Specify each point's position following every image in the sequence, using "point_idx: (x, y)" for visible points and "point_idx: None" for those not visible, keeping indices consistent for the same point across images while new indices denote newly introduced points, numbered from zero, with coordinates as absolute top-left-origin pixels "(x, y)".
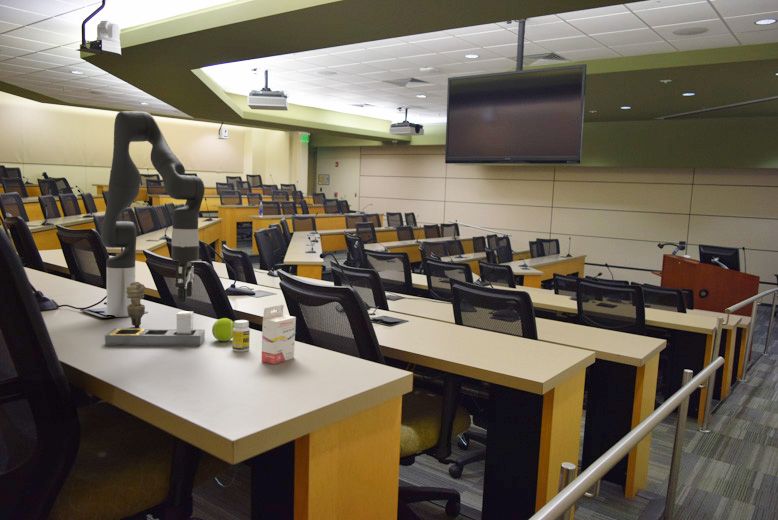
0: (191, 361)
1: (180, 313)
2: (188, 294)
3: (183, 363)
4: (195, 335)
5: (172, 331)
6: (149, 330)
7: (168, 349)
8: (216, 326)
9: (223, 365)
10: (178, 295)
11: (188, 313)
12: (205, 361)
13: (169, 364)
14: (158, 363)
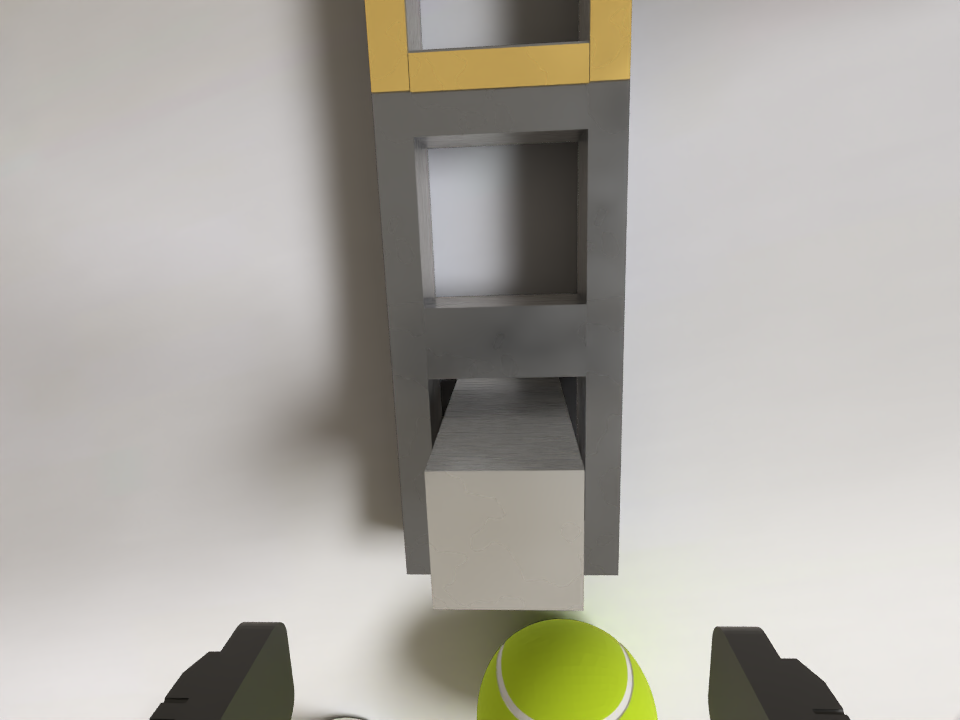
0: (83, 540)
1: (462, 503)
2: (723, 705)
3: (38, 506)
4: (417, 541)
5: (540, 347)
6: (587, 131)
7: (318, 355)
8: (499, 708)
9: (47, 697)
10: (198, 695)
11: (471, 580)
12: (98, 608)
13: (3, 438)
14: (7, 373)
